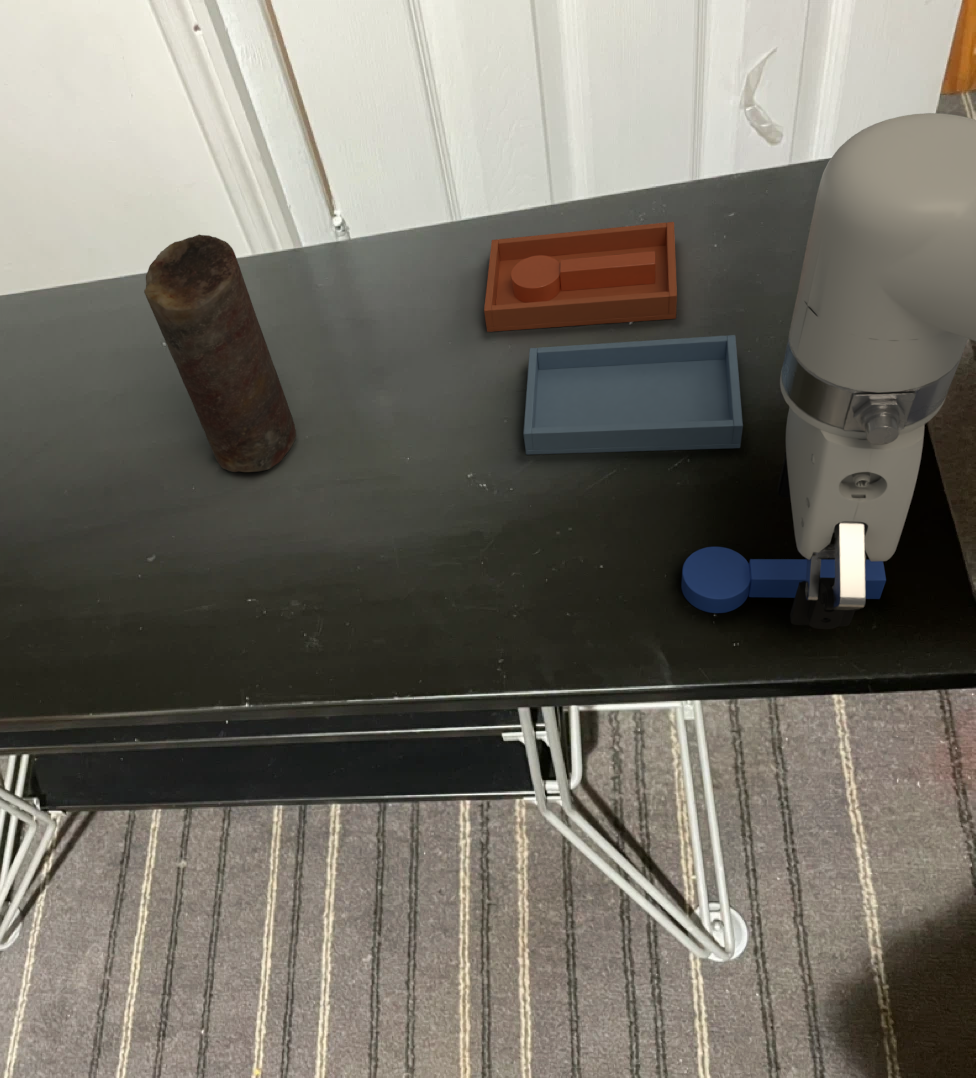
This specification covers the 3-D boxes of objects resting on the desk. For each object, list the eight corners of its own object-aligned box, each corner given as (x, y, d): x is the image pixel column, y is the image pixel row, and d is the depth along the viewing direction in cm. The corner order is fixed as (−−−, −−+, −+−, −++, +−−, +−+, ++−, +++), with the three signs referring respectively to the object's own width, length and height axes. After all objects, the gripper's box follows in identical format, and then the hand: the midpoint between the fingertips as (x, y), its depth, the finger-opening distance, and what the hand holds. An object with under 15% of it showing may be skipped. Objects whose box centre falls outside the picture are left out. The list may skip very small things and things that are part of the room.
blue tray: (733, 358, 81) (735, 334, 79) (740, 448, 76) (742, 425, 74) (531, 369, 86) (529, 347, 84) (526, 454, 81) (523, 433, 79)
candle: (313, 419, 89) (247, 232, 74) (287, 485, 86) (212, 303, 71) (234, 414, 93) (155, 234, 77) (206, 478, 89) (117, 302, 74)
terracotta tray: (673, 245, 90) (674, 221, 88) (676, 318, 85) (677, 295, 83) (494, 261, 95) (491, 239, 93) (487, 332, 90) (483, 310, 88)
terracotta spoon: (654, 261, 88) (655, 240, 87) (655, 294, 86) (655, 273, 84) (514, 273, 92) (512, 253, 91) (511, 305, 90) (509, 286, 88)
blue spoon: (874, 561, 68) (880, 542, 66) (882, 616, 65) (889, 598, 64) (680, 561, 72) (681, 542, 70) (682, 613, 69) (683, 595, 68)
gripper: (986, 501, 46) (898, 680, 59) (926, 243, 55) (861, 448, 69) (798, 501, 48) (754, 673, 62) (771, 254, 58) (737, 450, 71)
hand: (811, 555), depth 65 cm, fingers open, 9 cm apart
